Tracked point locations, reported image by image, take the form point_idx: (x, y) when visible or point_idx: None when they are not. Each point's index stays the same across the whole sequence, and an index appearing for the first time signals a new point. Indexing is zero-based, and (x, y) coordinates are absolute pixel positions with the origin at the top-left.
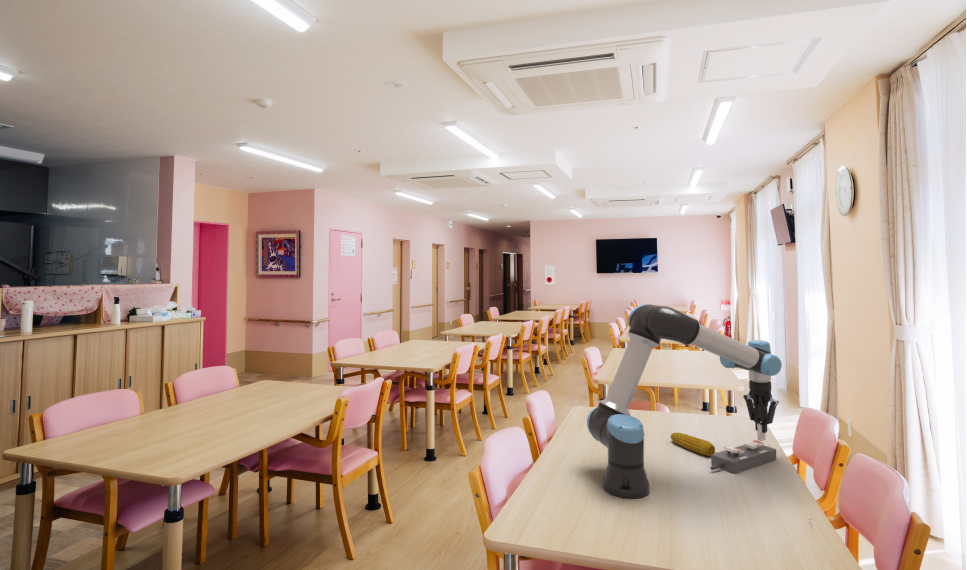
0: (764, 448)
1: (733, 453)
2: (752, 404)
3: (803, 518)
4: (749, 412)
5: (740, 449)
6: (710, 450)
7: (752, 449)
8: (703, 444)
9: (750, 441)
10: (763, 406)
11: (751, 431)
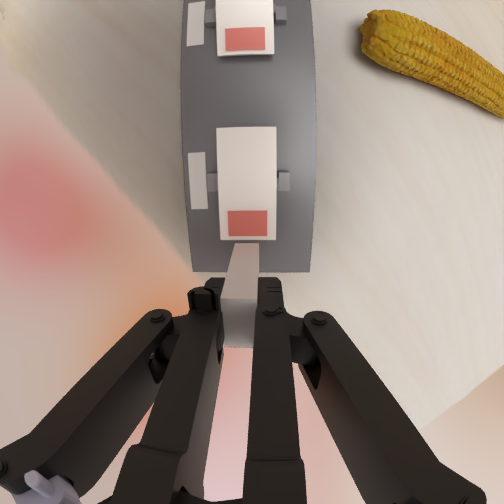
0: None
1: None
2: (353, 466)
3: (9, 8)
4: (353, 361)
5: (233, 42)
6: (369, 26)
7: None
8: (401, 13)
9: (275, 195)
10: (131, 460)
11: None
